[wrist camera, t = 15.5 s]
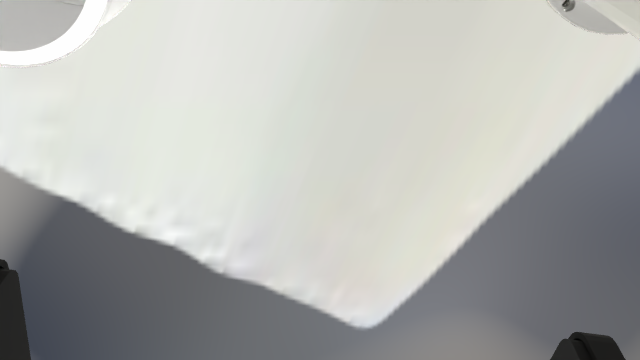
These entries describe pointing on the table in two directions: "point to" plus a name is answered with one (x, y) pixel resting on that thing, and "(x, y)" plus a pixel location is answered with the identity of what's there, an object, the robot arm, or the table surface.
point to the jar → (49, 28)
